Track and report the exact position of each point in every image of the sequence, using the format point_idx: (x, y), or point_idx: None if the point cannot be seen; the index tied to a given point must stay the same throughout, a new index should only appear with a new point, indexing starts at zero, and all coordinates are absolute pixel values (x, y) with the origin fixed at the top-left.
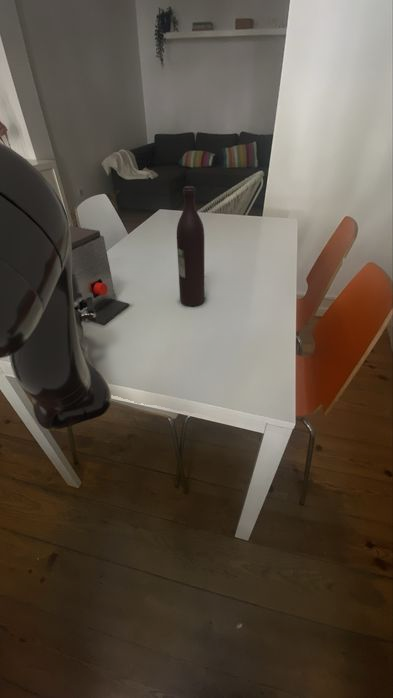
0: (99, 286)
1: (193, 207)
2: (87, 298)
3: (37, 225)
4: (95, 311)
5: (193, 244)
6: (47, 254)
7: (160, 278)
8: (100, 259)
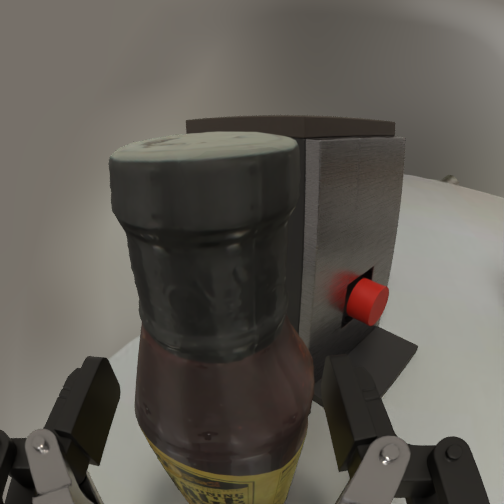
0: (374, 295)
1: None
2: (441, 451)
3: None
4: None
5: None
6: None
7: (452, 275)
8: (388, 204)
